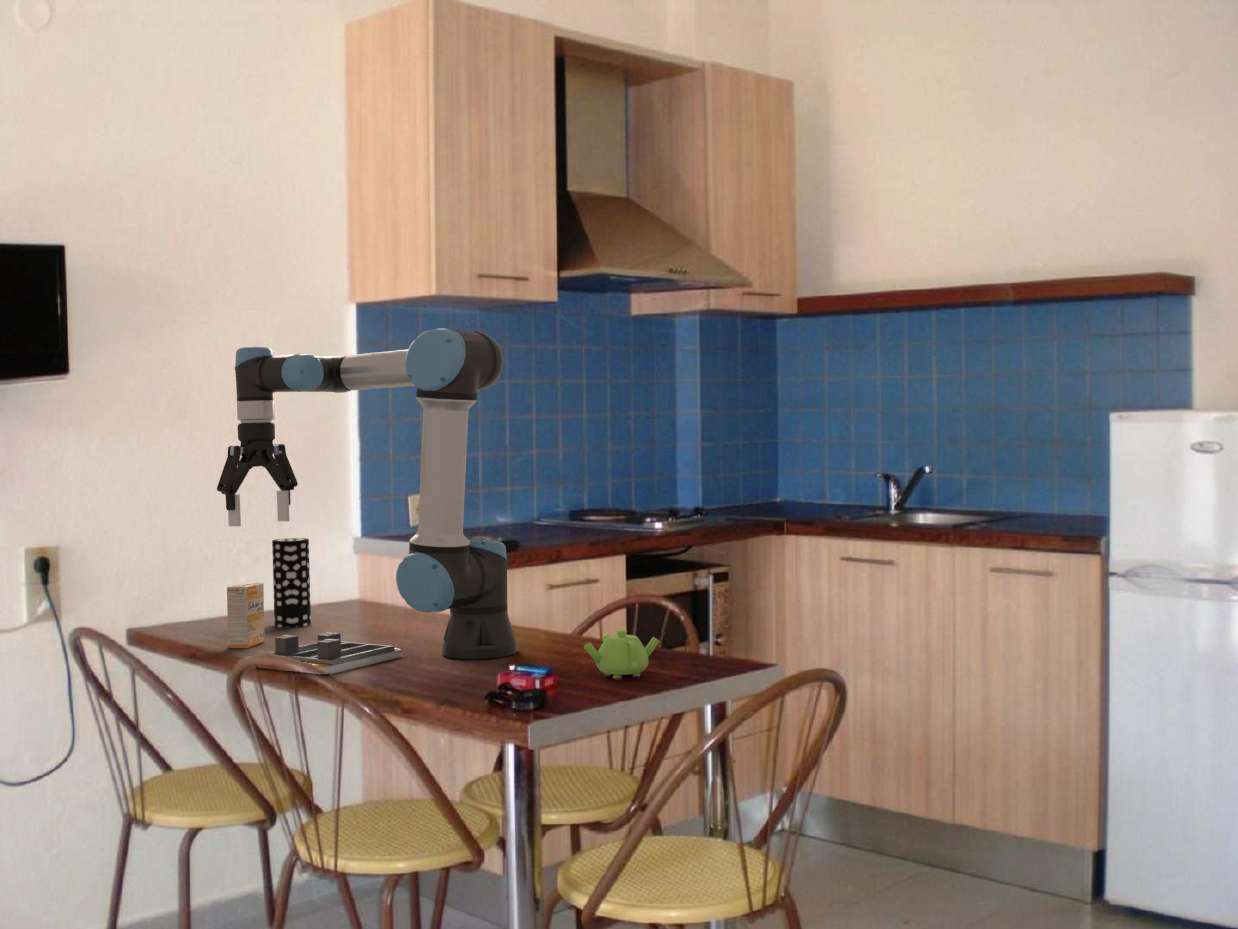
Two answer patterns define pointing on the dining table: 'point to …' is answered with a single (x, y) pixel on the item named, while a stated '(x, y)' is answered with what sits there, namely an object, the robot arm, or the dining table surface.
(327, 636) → the breaker mid
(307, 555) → the spotted tube
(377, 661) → the panel
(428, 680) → the dining table surface
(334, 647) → the breaker
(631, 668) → the teapot
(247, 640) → the supplement box
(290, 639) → the breaker
